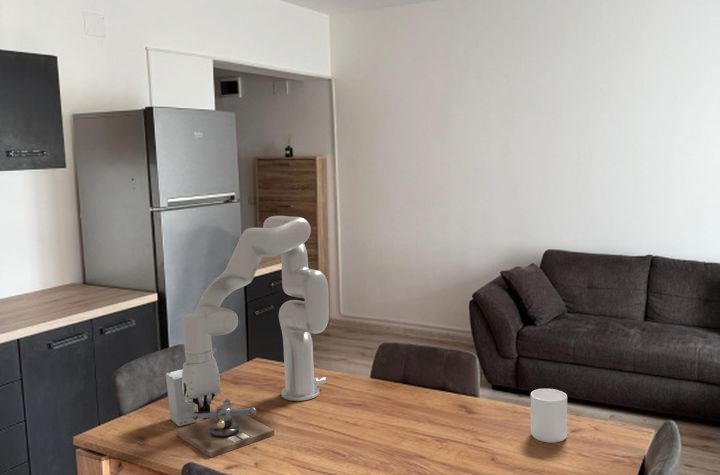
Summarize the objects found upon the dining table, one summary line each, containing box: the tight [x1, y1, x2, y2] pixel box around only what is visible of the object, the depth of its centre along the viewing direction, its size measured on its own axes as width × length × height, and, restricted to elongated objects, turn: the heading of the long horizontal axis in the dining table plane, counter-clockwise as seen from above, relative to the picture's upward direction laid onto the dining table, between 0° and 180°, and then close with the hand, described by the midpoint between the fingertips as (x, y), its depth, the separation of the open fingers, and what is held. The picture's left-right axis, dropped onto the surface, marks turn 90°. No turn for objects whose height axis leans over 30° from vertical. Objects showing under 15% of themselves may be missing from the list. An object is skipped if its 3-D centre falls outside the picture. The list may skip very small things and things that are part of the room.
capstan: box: [191, 398, 257, 437], centre depth 188 cm, size 18×18×6 cm
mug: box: [530, 388, 568, 444], centre depth 181 cm, size 10×12×12 cm
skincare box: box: [165, 369, 198, 427], centre depth 200 cm, size 8×6×15 cm
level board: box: [176, 415, 275, 458], centre depth 189 cm, size 20×20×2 cm
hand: (204, 417), depth 190 cm, fingers closed
